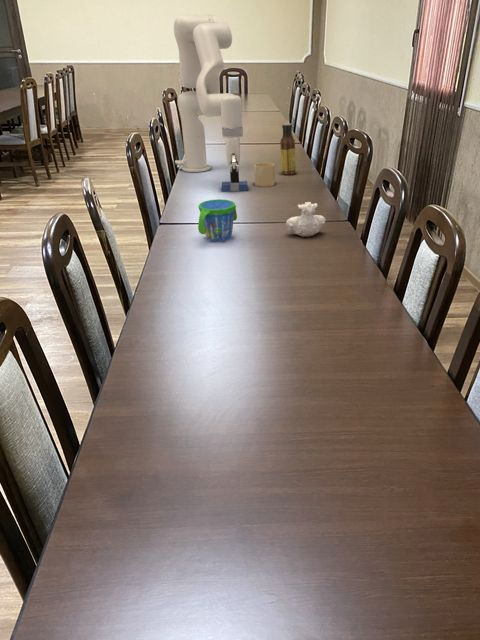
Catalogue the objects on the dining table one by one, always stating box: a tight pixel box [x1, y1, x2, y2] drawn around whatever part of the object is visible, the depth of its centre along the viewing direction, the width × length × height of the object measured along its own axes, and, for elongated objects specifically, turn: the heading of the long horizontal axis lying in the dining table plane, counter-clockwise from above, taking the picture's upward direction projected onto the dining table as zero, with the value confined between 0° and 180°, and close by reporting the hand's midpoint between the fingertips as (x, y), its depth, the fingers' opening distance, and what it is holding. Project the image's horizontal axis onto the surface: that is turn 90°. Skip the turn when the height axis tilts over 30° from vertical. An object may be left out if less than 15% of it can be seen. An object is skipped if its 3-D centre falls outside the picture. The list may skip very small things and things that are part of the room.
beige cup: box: [253, 162, 276, 188], centre depth 213 cm, size 8×8×8 cm
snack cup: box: [197, 198, 238, 242], centre depth 157 cm, size 16×10×10 cm
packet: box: [221, 180, 249, 193], centre depth 208 cm, size 10×6×2 cm, turn 93°
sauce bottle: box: [279, 123, 297, 176], centre depth 225 cm, size 7×6×20 cm
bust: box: [285, 201, 326, 238], centre depth 158 cm, size 12×8×11 cm
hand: (234, 179), depth 207 cm, fingers open, 9 cm apart
